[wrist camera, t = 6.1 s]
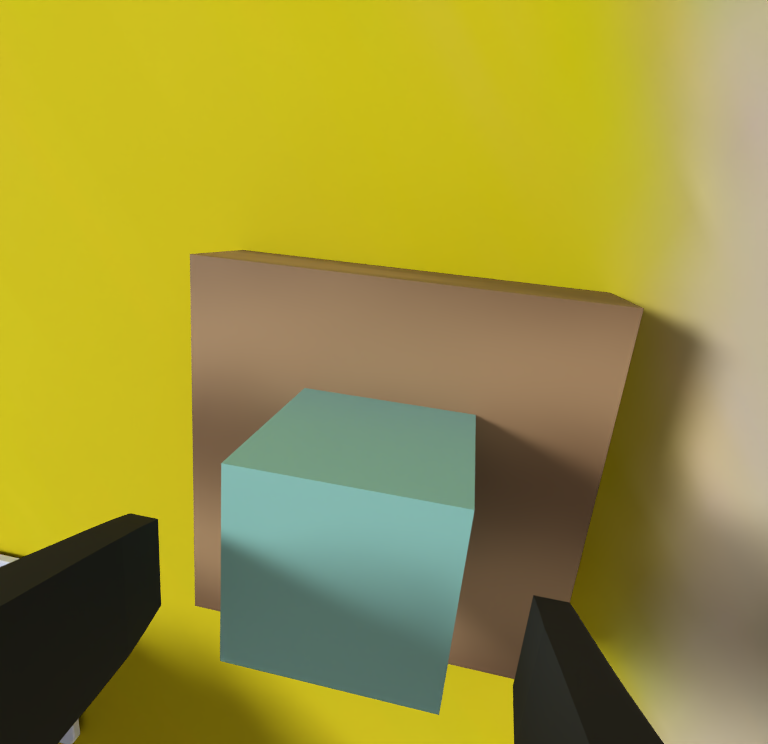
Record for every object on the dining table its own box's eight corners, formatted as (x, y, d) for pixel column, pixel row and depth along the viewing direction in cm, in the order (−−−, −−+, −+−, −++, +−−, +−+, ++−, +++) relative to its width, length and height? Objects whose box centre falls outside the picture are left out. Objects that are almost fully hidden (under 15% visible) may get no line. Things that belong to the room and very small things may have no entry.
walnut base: (536, 611, 17) (548, 686, 14) (238, 548, 19) (195, 605, 16) (610, 292, 14) (643, 308, 11) (242, 250, 16) (190, 254, 13)
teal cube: (451, 565, 14) (438, 714, 10) (296, 534, 14) (220, 660, 10) (475, 414, 12) (474, 509, 8) (304, 388, 13) (221, 463, 9)
